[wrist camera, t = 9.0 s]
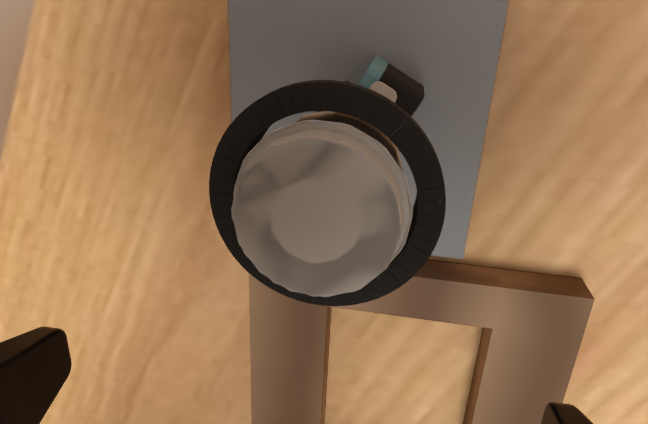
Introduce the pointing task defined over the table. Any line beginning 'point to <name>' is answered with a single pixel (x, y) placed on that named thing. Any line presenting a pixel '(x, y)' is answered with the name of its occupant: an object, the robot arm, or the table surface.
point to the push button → (330, 188)
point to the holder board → (437, 305)
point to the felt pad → (398, 50)
